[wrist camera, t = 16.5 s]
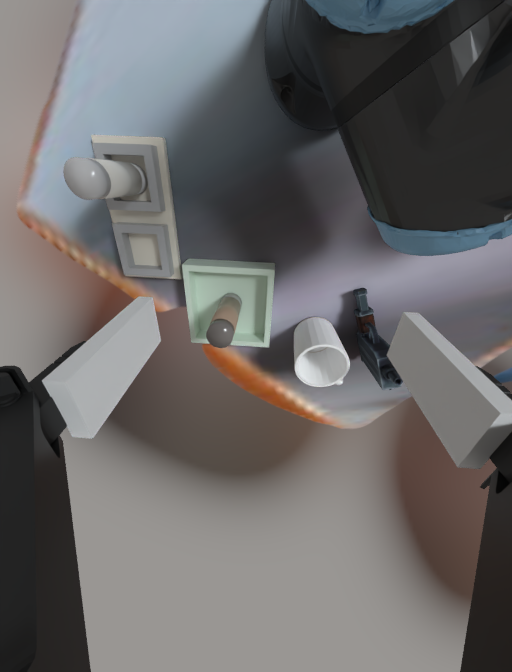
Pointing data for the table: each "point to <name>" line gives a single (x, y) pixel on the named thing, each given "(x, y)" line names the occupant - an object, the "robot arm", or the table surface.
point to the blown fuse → (224, 321)
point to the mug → (319, 353)
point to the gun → (374, 345)
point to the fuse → (104, 178)
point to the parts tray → (230, 277)
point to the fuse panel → (143, 208)
